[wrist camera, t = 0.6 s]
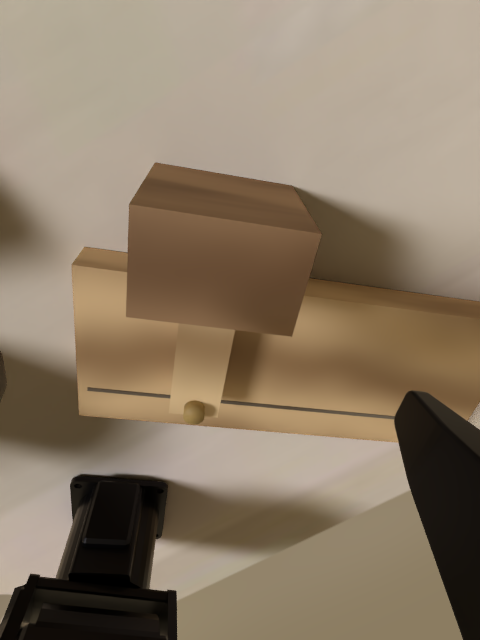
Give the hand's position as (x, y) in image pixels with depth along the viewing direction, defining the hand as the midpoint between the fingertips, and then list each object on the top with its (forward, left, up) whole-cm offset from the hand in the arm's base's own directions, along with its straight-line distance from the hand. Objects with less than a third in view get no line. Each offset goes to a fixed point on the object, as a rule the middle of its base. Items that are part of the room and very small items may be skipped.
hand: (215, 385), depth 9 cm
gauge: (-3, 0, -11) cm, 12 cm away
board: (-7, -5, -11) cm, 14 cm away
